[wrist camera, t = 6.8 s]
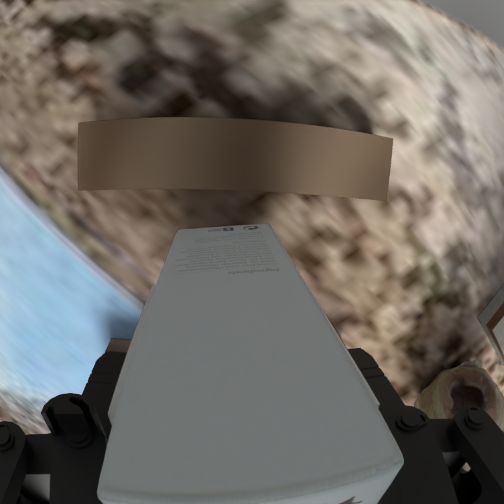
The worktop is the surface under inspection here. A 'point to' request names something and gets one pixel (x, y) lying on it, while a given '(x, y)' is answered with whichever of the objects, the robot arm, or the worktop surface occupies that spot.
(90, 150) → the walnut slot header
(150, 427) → the skincare box
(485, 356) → the worktop surface
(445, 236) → the worktop surface
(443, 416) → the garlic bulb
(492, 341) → the white tall block
